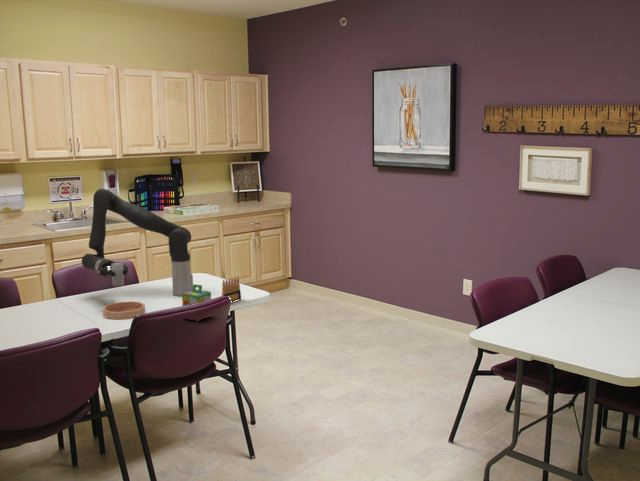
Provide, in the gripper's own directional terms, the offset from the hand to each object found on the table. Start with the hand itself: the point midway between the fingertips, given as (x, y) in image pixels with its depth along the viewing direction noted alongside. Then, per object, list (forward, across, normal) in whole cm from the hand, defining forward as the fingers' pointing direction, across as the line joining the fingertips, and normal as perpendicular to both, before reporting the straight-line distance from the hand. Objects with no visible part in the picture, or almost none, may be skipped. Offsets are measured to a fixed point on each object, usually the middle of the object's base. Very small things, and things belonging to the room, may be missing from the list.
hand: (119, 273), depth 280 cm
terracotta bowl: (+4, -1, +18) cm, 18 cm away
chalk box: (+32, +21, +18) cm, 42 cm away
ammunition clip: (+20, +46, +18) cm, 53 cm away
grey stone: (-3, 0, +6) cm, 7 cm away
